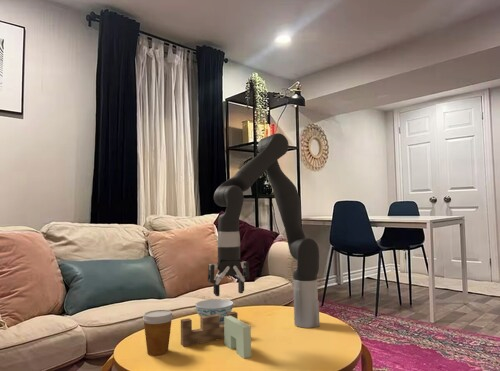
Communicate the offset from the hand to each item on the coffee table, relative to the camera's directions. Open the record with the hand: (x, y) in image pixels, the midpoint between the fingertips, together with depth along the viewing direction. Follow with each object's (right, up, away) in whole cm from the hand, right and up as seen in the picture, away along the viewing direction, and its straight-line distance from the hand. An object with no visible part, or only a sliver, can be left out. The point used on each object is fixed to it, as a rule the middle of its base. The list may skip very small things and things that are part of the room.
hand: (229, 294), depth 123 cm
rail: (-7, -17, +4) cm, 19 cm away
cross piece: (+3, -16, -6) cm, 17 cm away
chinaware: (-7, -19, +24) cm, 31 cm away
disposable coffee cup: (-22, -17, -6) cm, 28 cm away
